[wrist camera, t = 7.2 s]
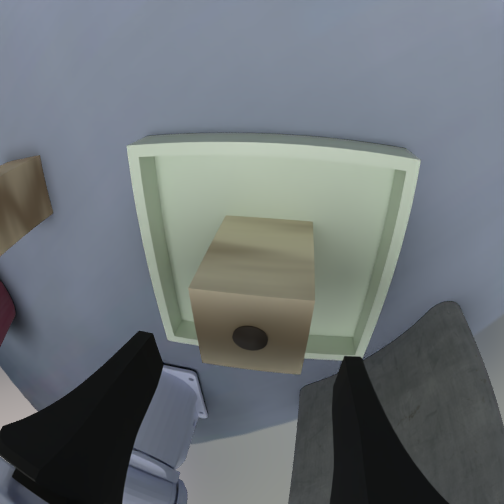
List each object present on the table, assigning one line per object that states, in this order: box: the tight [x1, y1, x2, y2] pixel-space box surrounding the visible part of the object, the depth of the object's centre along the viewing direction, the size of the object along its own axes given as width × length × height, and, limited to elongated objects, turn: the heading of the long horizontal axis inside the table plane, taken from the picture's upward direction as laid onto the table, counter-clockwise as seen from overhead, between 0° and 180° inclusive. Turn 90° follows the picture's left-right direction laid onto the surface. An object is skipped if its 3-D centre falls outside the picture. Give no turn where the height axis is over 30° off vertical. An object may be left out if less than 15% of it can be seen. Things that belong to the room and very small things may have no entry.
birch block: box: [188, 215, 315, 375], centre depth 14 cm, size 4×4×6 cm
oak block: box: [0, 155, 53, 256], centre depth 15 cm, size 4×4×6 cm
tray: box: [127, 133, 421, 361], centre depth 16 cm, size 13×13×2 cm
